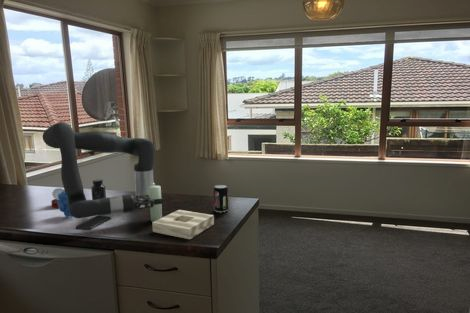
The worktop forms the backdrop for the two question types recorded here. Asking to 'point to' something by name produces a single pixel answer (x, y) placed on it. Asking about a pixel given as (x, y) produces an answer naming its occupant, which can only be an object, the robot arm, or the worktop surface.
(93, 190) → the supplement bottle
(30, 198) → the worktop surface
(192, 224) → the socket block
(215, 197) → the beverage can
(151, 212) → the peg
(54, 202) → the canned food
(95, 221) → the phone
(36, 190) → the worktop surface
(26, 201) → the worktop surface
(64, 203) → the grapes
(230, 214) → the worktop surface
